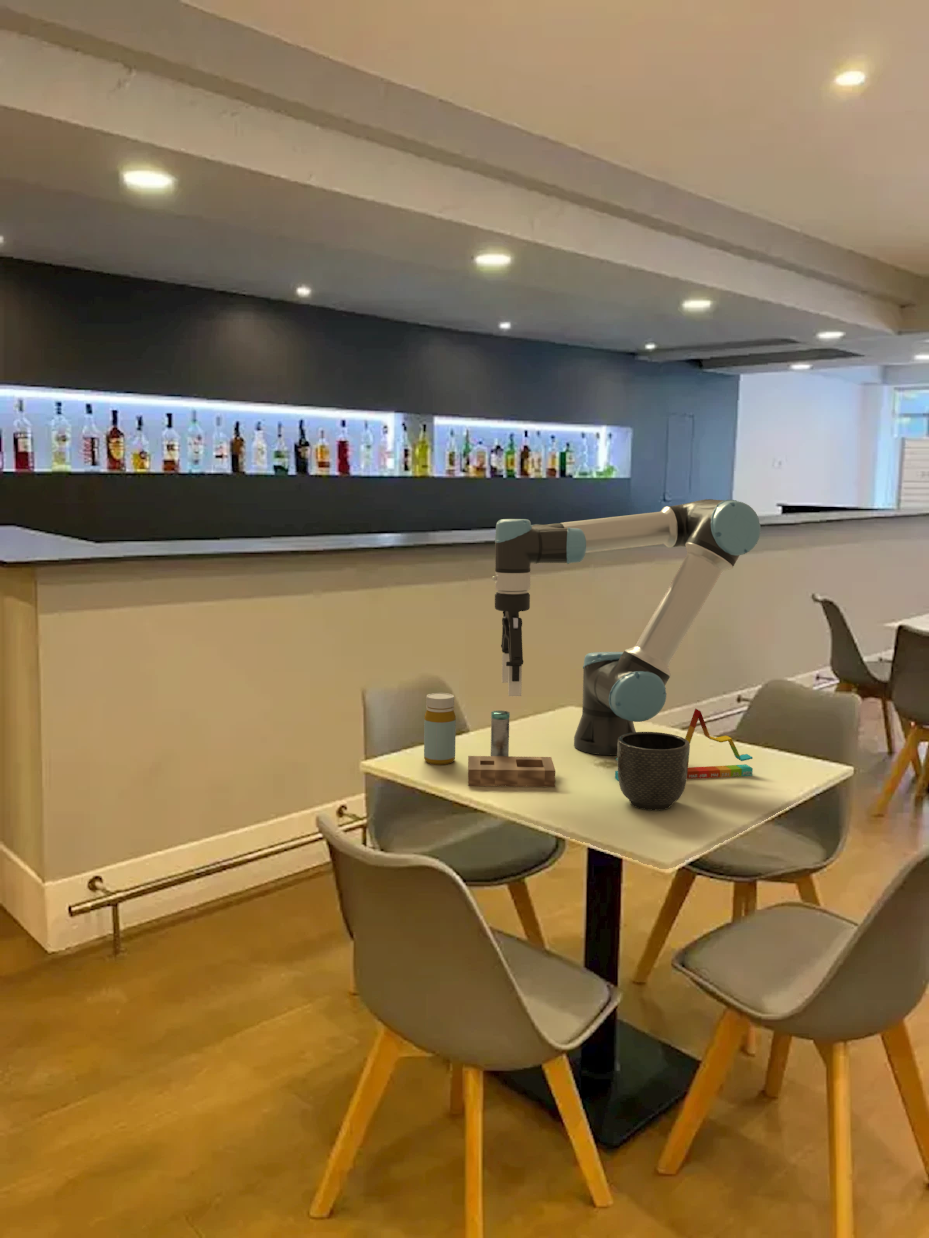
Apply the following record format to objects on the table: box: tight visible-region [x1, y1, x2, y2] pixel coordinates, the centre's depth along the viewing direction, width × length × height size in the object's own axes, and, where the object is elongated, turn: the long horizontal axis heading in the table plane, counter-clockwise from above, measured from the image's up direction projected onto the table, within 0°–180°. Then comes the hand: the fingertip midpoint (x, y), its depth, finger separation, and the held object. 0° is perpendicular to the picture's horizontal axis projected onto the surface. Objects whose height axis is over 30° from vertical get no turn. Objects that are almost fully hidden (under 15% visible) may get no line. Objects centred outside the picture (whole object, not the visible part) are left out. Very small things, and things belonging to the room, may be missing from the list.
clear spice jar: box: [490, 710, 510, 756], centre depth 216 cm, size 4×4×12 cm
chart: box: [614, 708, 754, 782], centre depth 209 cm, size 30×3×15 cm, turn 101°
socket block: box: [467, 755, 556, 788], centre depth 207 cm, size 18×10×4 cm, turn 90°
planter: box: [616, 731, 691, 811], centre depth 192 cm, size 14×14×13 cm
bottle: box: [423, 692, 457, 766], centre depth 219 cm, size 7×7×15 cm
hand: (511, 689), depth 211 cm, fingers open, 13 cm apart
